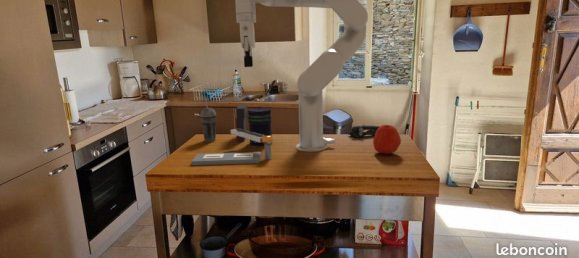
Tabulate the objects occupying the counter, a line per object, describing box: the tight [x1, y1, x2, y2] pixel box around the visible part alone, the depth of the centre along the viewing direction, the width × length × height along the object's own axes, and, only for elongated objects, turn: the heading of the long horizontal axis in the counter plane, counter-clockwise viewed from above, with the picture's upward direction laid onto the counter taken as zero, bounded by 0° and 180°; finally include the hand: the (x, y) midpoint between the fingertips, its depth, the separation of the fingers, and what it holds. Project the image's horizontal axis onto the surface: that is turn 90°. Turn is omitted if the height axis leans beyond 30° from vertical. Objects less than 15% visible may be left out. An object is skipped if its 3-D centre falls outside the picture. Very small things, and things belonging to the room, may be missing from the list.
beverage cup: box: [199, 97, 218, 143], centre depth 172 cm, size 7×7×20 cm
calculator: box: [235, 104, 248, 142], centre depth 176 cm, size 11×4×15 cm, turn 0°
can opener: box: [348, 124, 381, 139], centre depth 176 cm, size 18×7×6 cm, turn 104°
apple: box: [372, 124, 402, 154], centre depth 149 cm, size 10×10×10 cm
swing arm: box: [230, 128, 273, 144], centre depth 152 cm, size 26×4×2 cm, turn 37°
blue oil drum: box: [247, 107, 273, 148], centre depth 166 cm, size 10×10×15 cm
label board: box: [191, 143, 272, 166], centre depth 144 cm, size 28×10×6 cm, turn 91°
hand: (248, 66), depth 154 cm, fingers closed
